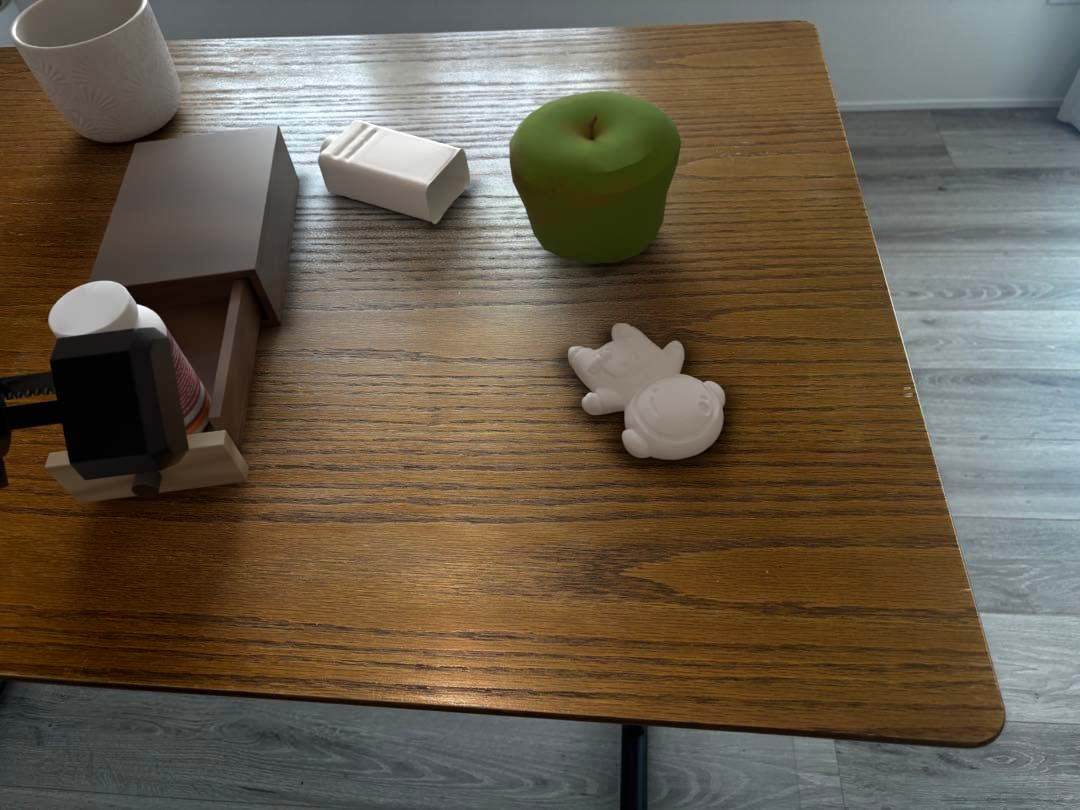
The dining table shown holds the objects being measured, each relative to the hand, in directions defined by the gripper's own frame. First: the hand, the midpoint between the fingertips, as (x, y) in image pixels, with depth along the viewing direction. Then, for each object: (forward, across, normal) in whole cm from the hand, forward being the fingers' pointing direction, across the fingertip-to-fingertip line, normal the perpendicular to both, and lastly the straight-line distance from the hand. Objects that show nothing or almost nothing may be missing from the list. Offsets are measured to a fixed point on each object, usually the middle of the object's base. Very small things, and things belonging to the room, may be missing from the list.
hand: (63, 402), depth 45 cm
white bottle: (+32, -15, -14) cm, 38 cm away
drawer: (+15, 0, +1) cm, 15 cm away
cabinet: (+27, 0, -10) cm, 29 cm away
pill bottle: (+13, 0, +3) cm, 13 cm away
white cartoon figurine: (+13, -32, +5) cm, 35 cm away
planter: (+44, +12, -26) cm, 52 cm away
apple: (+25, -32, -7) cm, 41 cm away
